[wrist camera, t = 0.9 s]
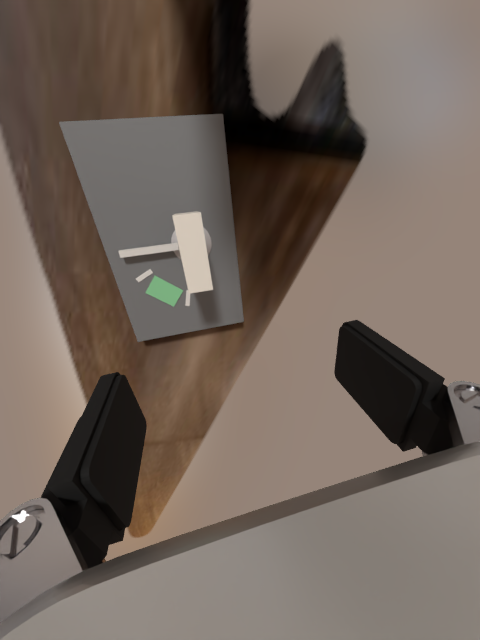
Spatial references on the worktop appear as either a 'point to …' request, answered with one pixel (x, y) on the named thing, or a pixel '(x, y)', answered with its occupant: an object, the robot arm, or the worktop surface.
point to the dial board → (161, 214)
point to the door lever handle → (185, 251)
